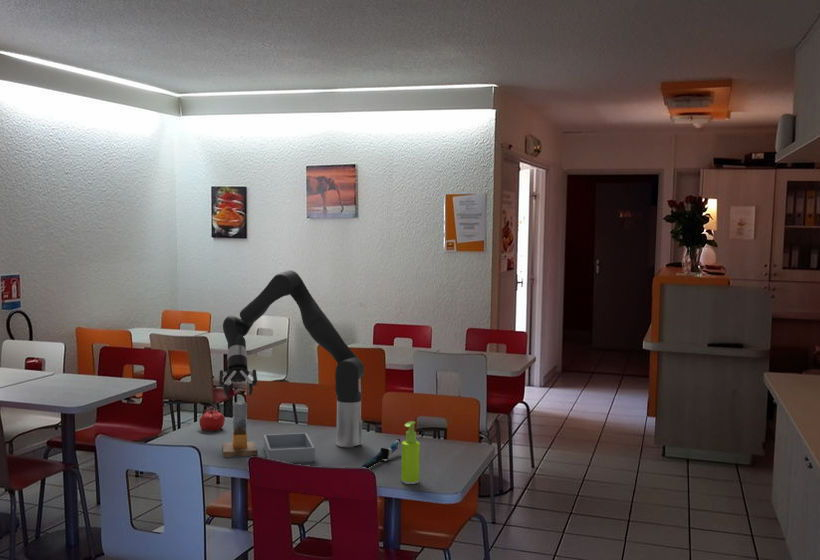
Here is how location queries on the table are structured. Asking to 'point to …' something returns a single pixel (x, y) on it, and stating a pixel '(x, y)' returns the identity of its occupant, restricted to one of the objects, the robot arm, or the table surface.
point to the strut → (239, 425)
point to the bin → (289, 447)
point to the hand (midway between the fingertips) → (238, 394)
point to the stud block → (239, 450)
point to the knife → (383, 454)
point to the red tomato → (211, 420)
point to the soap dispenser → (410, 455)
